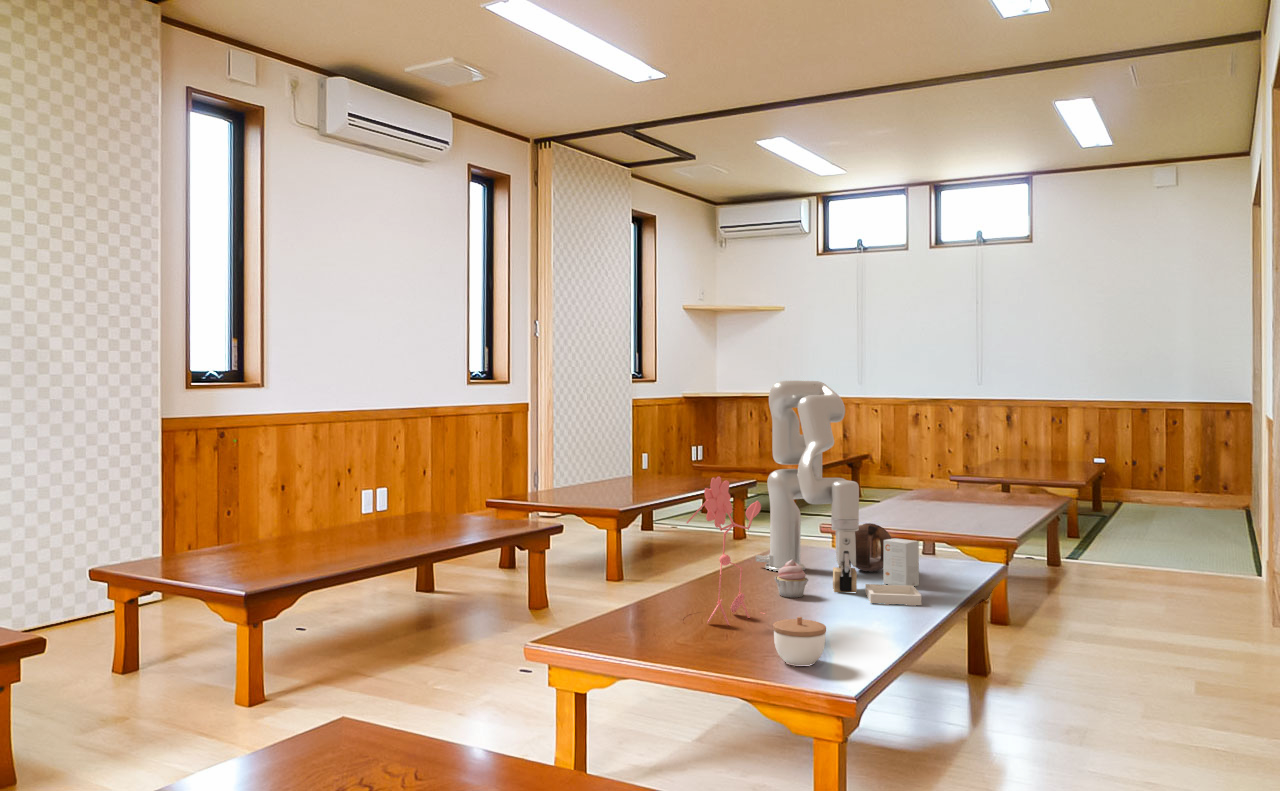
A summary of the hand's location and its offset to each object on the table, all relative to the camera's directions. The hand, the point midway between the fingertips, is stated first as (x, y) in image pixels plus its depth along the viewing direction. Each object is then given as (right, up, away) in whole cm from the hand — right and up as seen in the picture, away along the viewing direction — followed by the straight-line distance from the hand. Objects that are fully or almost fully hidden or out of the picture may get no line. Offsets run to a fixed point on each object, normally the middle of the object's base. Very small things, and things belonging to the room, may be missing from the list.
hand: (844, 587), depth 260 cm
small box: (+18, -1, +9) cm, 20 cm away
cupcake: (-16, -1, -7) cm, 18 cm away
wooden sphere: (+14, -1, +29) cm, 33 cm away
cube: (0, -1, 0) cm, 1 cm away
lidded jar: (-25, -1, -70) cm, 75 cm away
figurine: (-39, -1, -33) cm, 51 cm away
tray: (+11, -1, -11) cm, 15 cm away
